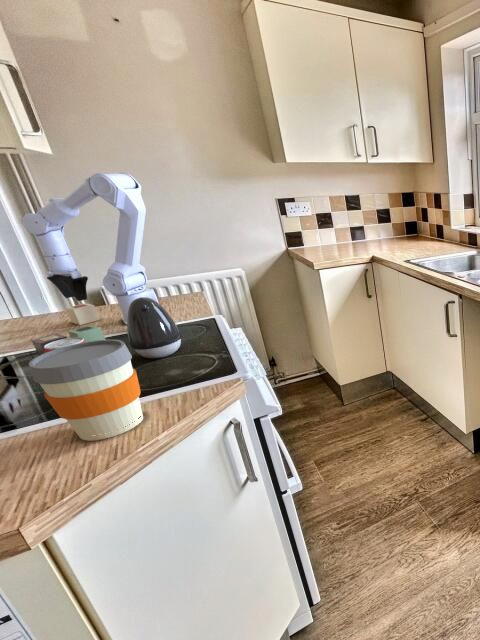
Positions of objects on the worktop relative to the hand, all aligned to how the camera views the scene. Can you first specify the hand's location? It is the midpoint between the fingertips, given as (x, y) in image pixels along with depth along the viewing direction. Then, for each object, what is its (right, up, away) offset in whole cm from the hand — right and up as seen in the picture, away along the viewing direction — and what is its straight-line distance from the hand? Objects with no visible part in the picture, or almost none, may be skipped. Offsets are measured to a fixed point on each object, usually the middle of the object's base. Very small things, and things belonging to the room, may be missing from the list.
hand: (76, 298), depth 130 cm
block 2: (0, -7, +3) cm, 8 cm away
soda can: (+45, -25, -41) cm, 66 cm away
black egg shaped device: (+45, -17, -22) cm, 53 cm away
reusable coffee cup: (+61, -29, -52) cm, 85 cm away
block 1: (+18, -17, -22) cm, 33 cm away
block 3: (+21, -15, -16) cm, 30 cm away
